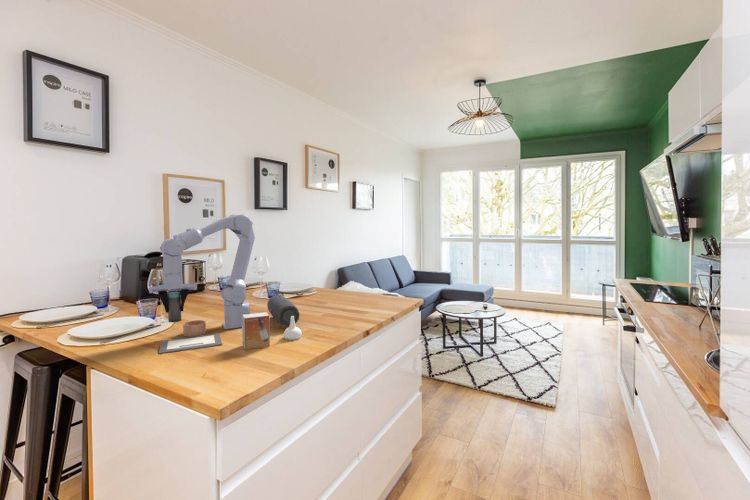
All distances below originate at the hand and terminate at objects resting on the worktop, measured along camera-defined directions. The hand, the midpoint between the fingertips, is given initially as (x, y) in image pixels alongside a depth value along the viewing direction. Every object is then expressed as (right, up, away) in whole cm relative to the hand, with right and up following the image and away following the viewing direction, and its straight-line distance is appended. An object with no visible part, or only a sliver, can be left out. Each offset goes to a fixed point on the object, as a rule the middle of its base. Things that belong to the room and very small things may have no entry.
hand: (174, 311), depth 122 cm
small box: (+31, -10, -8) cm, 34 cm away
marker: (0, -3, 0) cm, 3 cm away
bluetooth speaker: (+33, -8, +20) cm, 39 cm away
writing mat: (+9, -10, -5) cm, 14 cm away
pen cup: (+4, -9, +5) cm, 11 cm away
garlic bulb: (+42, -10, +1) cm, 43 cm away
